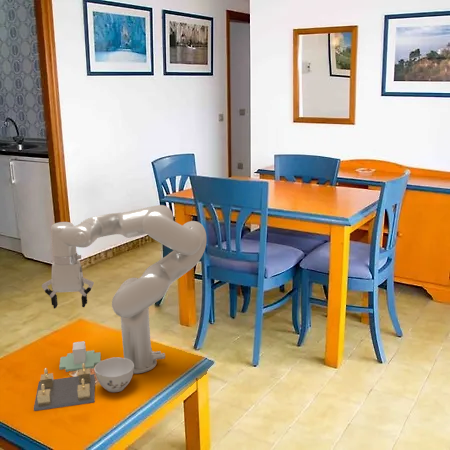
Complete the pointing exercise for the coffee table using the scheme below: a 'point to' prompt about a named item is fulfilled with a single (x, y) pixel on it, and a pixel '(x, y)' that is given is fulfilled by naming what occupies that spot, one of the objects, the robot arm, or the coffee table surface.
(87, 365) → the circuit board
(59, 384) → the chassis
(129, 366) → the teacup
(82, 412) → the coffee table surface
